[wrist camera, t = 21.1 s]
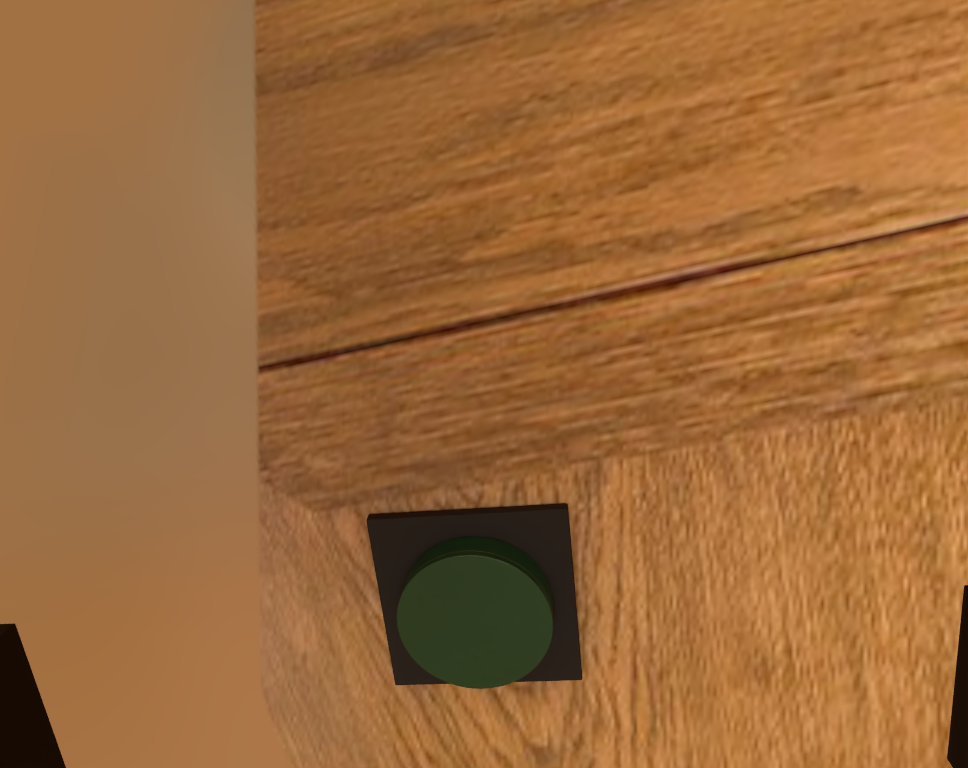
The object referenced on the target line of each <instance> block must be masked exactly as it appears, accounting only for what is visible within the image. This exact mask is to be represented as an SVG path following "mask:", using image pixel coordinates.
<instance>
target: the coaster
mask: <svg viewBox="0 0 968 768" xmlns="http://www.w3.org/2000/svg"><path fill="white" fill-rule="evenodd" d="M367 526H368V532H369V537H370V543H371V549H372V554H373V560H374V566H375V571H376V577H377V583H378V588H379V594H380V600H381V605H382V611H383V617H384V622H385V628H386V634H387V639H388V645H389V651H390V656H391V662H392V668H393V673H394V679H395V684H396V685H416V684H451V683H448V682H445V681H443V680H441V679H439V678H437V677H435V676H433V675H432V674H430V673H429V672H427V671H426V670H425V669H423V668H422V667H421V666H420V665H419V664H418V663H417V662H416V661H415V660H414V659H413V658H412V657H411V655H410V654H409V653H408V651H407V650H406V648H405V646H404V644H403V642H402V640H401V637H400V634H399V630H398V626H397V608H398V603H399V599H400V596H401V593H402V590H403V588H404V585H405V582H406V579H407V576H408V574H409V572H410V570H411V568H412V567H413V565H414V564H415V563H416V561H417V560H418V559H419V558H420V557H421V556H422V555H423V554H424V553H425V552H427V551H428V550H430V549H431V548H433V547H434V546H436V545H438V544H440V543H442V542H445V541H448V540H451V539H455V538H460V537H469V536H477V537H487V538H493V539H496V540H500V541H503V542H505V543H508V544H510V545H512V546H514V547H516V548H518V549H520V550H521V551H522V552H524V553H525V554H527V555H528V556H529V557H530V558H531V559H532V560H534V562H535V563H536V564H537V565H538V566H539V567H540V568H541V570H542V572H543V573H544V575H545V576H546V578H547V580H548V582H549V585H550V588H551V591H552V596H553V634H552V640H551V643H550V646H549V649H548V650H547V652H546V654H545V656H544V658H543V659H542V660H541V662H540V663H539V664H538V665H537V666H536V667H535V668H534V669H533V670H532V671H531V672H530V673H528V674H527V675H525V676H524V677H522V678H520V679H519V680H517V681H514V682H525V681H561V680H582V669H581V657H580V645H579V633H578V621H577V609H576V597H575V586H574V574H573V562H572V550H571V538H570V526H569V514H568V504H551V505H533V506H516V507H498V508H480V509H462V510H444V511H426V512H408V513H390V514H372V515H369V516H368V518H367Z"/></svg>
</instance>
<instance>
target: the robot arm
mask: <svg viewBox="0 0 968 768" xmlns="http://www.w3.org/2000/svg"><path fill="white" fill-rule="evenodd" d="M947 759H948V761H949V762H950V764H951V765H952V767H953V768H968V585H964V594H963V604H962V614H961V624H960V634H959V645H958V655H957V665H956V675H955V685H954V695H953V705H952V715H951V726H950V736H949V746H948V756H947ZM0 768H66V767H65V764H64V761H63V758H62V755H61V752H60V750H59V747H58V744H57V741H56V738H55V735H54V733H53V730H52V727H51V724H50V722H49V718H48V716H47V713H46V710H45V707H44V705H43V702H42V699H41V696H40V693H39V690H38V688H37V685H36V682H35V679H34V676H33V673H32V671H31V668H30V665H29V662H28V659H27V656H26V654H25V651H24V648H23V645H22V642H21V639H20V637H19V634H18V631H17V628H16V625H15V624H0Z"/></svg>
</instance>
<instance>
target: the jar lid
mask: <svg viewBox="0 0 968 768" xmlns="http://www.w3.org/2000/svg"><path fill="white" fill-rule="evenodd" d="M397 626H398V630H399V634H400V637H401V640H402V642H403V644H404V646H405V648H406V650H407V651H408V653H409V654H410V655H411V657H412V658H413V659H414V660H415V661H416V662H417V663H418V664H419V665H420V666H421V667H422V668H423V669H425V670H426V671H427V672H429V673H430V674H432V675H433V676H435V677H437V678H439V679H441V680H443V681H445V682H448V683H451V684H454V685H457V686H461V687H467V688H480V689H482V688H494V687H499V686H503V685H506V684H510V683H512V682H514V681H517V680H519V679H520V678H522V677H524V676H525V675H527V674H528V673H530V672H531V671H532V670H533V669H534V668H535V667H536V666H537V665H538V664H539V663H540V662H541V660H542V659H543V658H544V656H545V654H546V652H547V650H548V649H549V646H550V643H551V640H552V634H553V596H552V591H551V588H550V585H549V582H548V580H547V578H546V576H545V575H544V573H543V572H542V570H541V568H540V567H539V566H538V565H537V564H536V563H535V562H534V560H532V559H531V558H530V557H529V556H528V555H527V554H525V553H524V552H522V551H521V550H520V549H518V548H516V547H514V546H512V545H510V544H508V543H505V542H503V541H500V540H496V539H493V538H487V537H477V536H469V537H460V538H455V539H451V540H448V541H445V542H442V543H440V544H438V545H436V546H434V547H433V548H431V549H430V550H428V551H427V552H425V553H424V554H423V555H422V556H421V557H420V558H419V559H418V560H417V561H416V563H415V564H414V565H413V567H412V568H411V570H410V572H409V574H408V576H407V579H406V582H405V585H404V588H403V590H402V593H401V596H400V599H399V603H398V608H397Z"/></svg>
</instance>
